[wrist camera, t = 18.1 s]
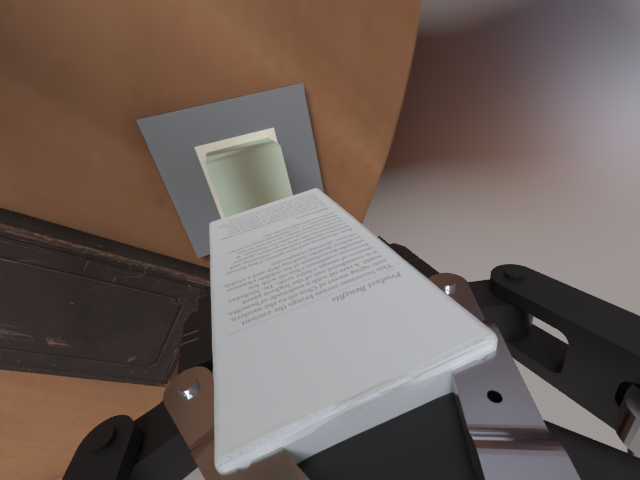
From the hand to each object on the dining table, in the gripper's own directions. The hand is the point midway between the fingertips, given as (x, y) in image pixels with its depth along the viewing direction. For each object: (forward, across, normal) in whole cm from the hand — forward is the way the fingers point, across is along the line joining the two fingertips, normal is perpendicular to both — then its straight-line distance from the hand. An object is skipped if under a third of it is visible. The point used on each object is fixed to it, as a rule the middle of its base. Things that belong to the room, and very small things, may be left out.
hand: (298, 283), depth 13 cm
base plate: (+22, 0, 0) cm, 22 cm away
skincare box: (+5, 0, 0) cm, 5 cm away
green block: (+21, 0, 0) cm, 21 cm away
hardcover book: (+23, +20, +8) cm, 32 cm away
